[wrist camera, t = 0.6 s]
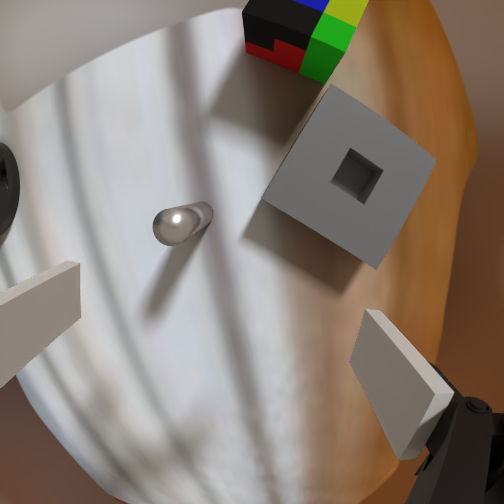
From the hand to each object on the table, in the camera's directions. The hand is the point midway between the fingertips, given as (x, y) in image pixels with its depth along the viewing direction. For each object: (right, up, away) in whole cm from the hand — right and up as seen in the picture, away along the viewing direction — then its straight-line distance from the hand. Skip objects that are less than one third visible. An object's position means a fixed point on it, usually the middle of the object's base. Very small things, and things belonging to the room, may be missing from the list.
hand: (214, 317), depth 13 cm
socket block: (+12, +11, +21) cm, 27 cm away
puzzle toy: (+8, +29, +18) cm, 35 cm away
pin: (-4, +7, +23) cm, 24 cm away
